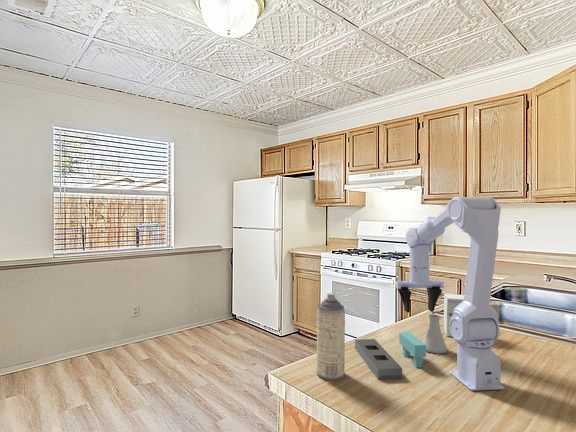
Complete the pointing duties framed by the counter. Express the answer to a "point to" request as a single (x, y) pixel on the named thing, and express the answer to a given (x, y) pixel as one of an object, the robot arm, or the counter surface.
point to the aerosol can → (330, 339)
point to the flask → (434, 336)
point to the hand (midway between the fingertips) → (419, 311)
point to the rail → (378, 359)
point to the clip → (412, 347)
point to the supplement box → (450, 309)
